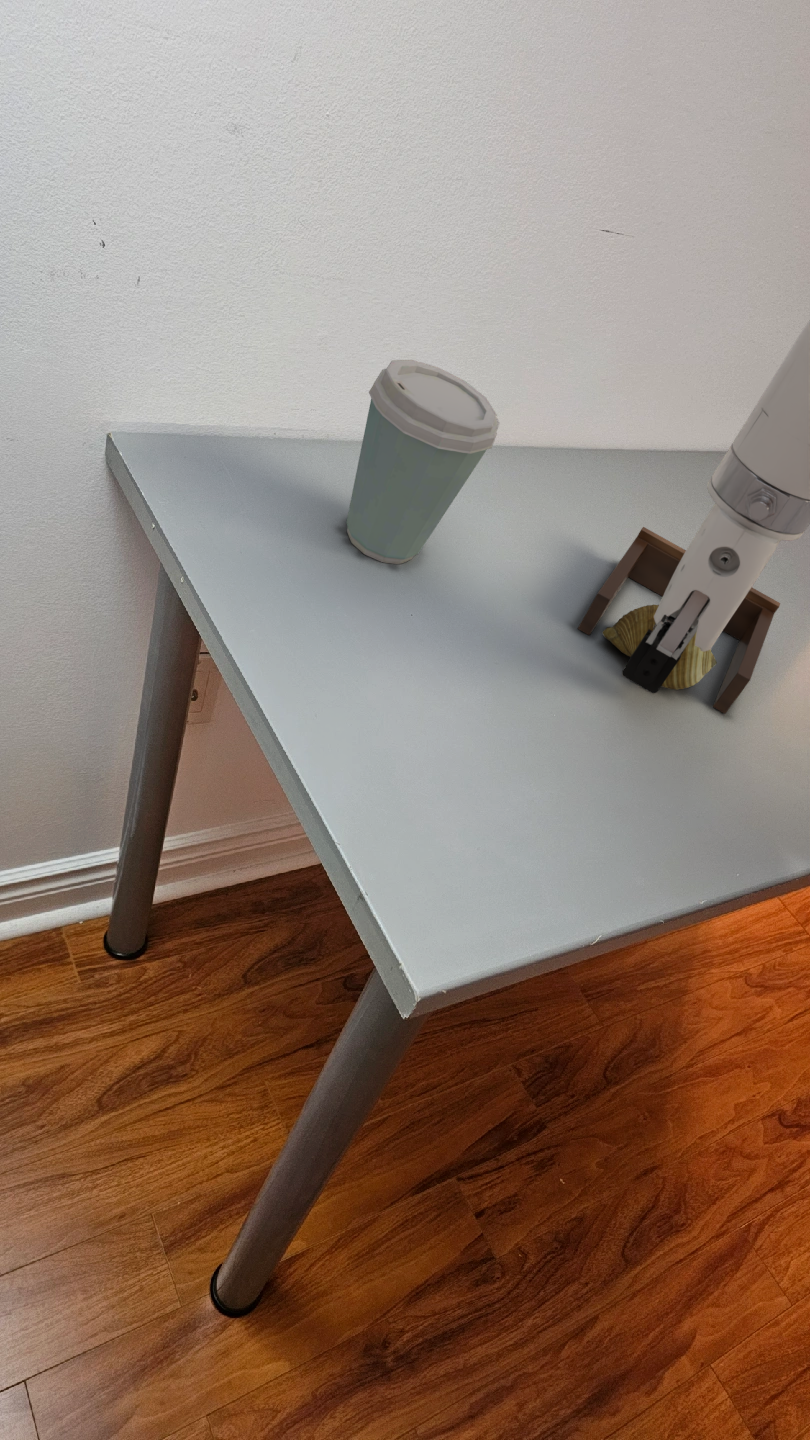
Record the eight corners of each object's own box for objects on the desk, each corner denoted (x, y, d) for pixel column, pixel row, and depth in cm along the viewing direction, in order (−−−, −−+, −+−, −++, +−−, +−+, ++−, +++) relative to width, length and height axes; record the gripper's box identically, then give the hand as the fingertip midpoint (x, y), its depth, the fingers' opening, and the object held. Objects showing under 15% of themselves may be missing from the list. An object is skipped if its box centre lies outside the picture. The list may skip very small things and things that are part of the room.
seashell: (587, 678, 94) (593, 649, 86) (614, 608, 95) (622, 573, 88) (694, 715, 92) (710, 688, 84) (719, 643, 93) (737, 610, 86)
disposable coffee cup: (401, 504, 96) (460, 353, 87) (464, 578, 91) (535, 426, 82) (301, 509, 90) (353, 347, 81) (363, 589, 85) (427, 425, 75)
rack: (753, 641, 100) (781, 602, 97) (725, 714, 89) (755, 672, 86) (620, 566, 102) (643, 525, 99) (577, 628, 91) (602, 585, 88)
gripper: (800, 559, 68) (659, 752, 79) (824, 482, 79) (698, 661, 91) (697, 501, 69) (573, 701, 80) (736, 434, 80) (622, 617, 92)
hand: (640, 679), depth 86 cm, fingers closed
